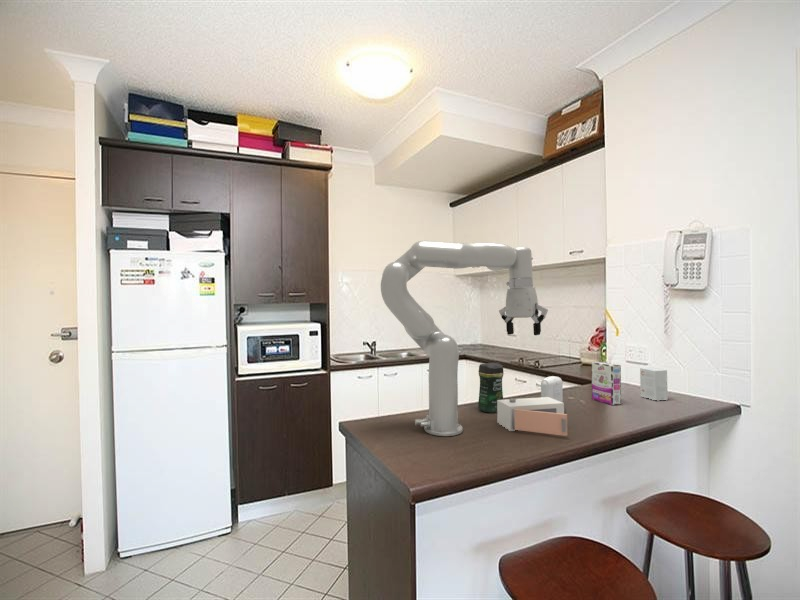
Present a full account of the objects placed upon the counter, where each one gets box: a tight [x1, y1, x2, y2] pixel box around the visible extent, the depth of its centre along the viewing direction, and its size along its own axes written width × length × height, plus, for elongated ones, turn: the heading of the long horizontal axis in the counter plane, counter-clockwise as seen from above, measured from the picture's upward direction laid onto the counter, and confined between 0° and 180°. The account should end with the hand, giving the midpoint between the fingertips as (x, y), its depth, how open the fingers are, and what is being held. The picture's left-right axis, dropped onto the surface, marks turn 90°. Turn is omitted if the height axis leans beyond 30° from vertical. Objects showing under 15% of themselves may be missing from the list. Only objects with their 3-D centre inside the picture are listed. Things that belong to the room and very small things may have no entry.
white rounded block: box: [540, 375, 564, 403], centre depth 155 cm, size 10×4×12 cm, turn 123°
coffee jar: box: [477, 362, 505, 413], centre depth 150 cm, size 10×8×19 cm
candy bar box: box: [591, 361, 622, 406], centre depth 162 cm, size 11×5×16 cm, turn 17°
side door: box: [512, 409, 568, 437], centre depth 121 cm, size 16×2×6 cm, turn 67°
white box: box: [496, 396, 568, 432], centre depth 132 cm, size 22×9×9 cm, turn 102°
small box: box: [639, 367, 669, 401], centre depth 167 cm, size 8×6×13 cm
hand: (523, 334), depth 129 cm, fingers open, 9 cm apart
